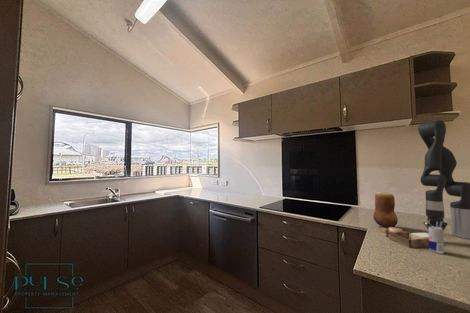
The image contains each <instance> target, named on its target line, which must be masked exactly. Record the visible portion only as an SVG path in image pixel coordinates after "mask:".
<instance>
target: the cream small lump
mask: <svg viewBox="0 0 470 313" xmlns="http://www.w3.org/2000/svg"><path fill="white" fill-rule="evenodd" d="M388 229H389V232H404V229H403V228H400V227H396V226H395V227H389V228H388Z"/></svg>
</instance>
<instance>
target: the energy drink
mask: <svg viewBox="0 0 470 313" xmlns="http://www.w3.org/2000/svg"><path fill="white" fill-rule="evenodd" d="M427 230H428V232H427V233H428V234H429V247H428V248H429V251H430V252H432V253H435V254H440V255H443V254H445V238H444V231H443V229H442V228H439V227H434V226H429V228H428V229H427Z"/></svg>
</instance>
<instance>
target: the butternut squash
mask: <svg viewBox="0 0 470 313" xmlns="http://www.w3.org/2000/svg"><path fill="white" fill-rule="evenodd" d="M374 200H375V201H374V213H373V215H372V216H373V217H372V218H373V220H374V221H375V223H376V224H377V225H378V226H380V228H382V227H383V228H387V229H388V228H389V227H396V226H397V225H398V219H399V218H398V216H397V213H396V212H395V206H396V204H395V203H396V202H395V196H394V195H393V194H392V193H390V192H387V191H376V193H375V194H374Z"/></svg>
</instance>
